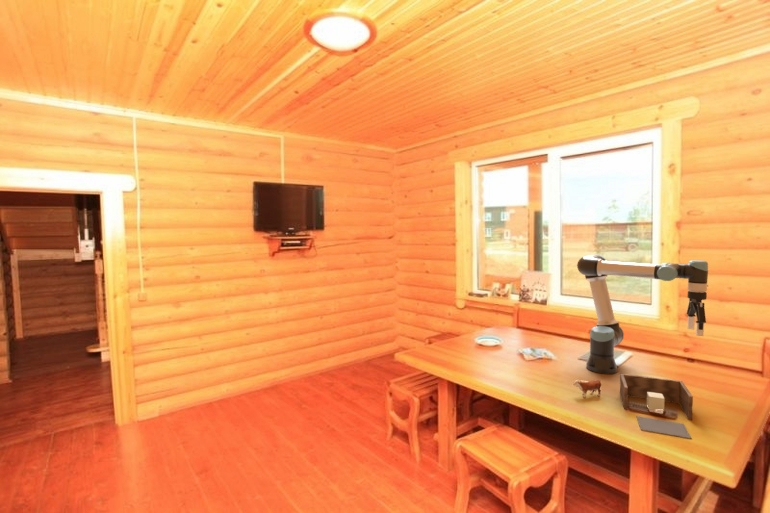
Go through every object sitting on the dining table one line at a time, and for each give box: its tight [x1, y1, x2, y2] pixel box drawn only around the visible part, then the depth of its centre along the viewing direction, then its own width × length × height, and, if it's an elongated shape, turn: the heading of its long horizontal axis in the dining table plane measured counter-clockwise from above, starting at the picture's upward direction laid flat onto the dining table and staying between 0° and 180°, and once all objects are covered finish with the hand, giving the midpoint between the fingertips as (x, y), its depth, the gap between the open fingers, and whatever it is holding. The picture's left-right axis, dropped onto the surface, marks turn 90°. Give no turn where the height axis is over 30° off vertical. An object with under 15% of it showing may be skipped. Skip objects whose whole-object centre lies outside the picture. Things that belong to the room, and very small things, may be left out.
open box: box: [619, 373, 694, 421], centre depth 173 cm, size 24×18×10 cm
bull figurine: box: [572, 379, 602, 399], centre depth 185 cm, size 4×13×8 cm, turn 95°
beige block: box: [646, 392, 666, 411], centre depth 169 cm, size 6×6×7 cm
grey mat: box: [636, 415, 692, 440], centre depth 155 cm, size 16×12×1 cm
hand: (695, 332), depth 198 cm, fingers open, 13 cm apart
